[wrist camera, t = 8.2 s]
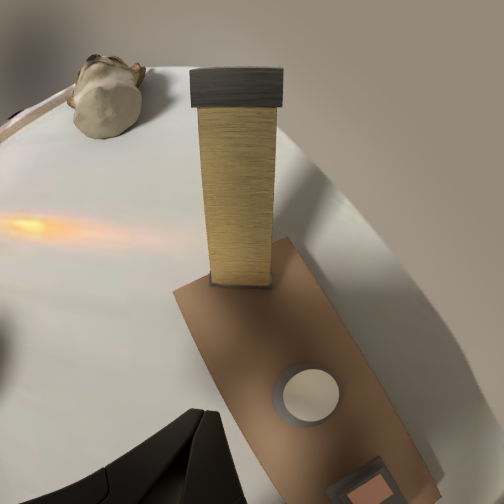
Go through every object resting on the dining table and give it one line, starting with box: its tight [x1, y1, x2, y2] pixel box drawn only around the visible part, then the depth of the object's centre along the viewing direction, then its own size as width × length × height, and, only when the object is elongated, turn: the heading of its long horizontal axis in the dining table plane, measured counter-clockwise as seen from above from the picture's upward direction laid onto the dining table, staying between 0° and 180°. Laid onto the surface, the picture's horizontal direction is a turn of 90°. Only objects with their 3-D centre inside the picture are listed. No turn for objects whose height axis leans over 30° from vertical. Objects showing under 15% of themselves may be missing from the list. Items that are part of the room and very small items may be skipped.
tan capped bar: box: [189, 67, 283, 290], centre depth 14 cm, size 2×4×12 cm, turn 85°
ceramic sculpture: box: [67, 55, 146, 139], centre depth 26 cm, size 11×9×15 cm
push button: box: [283, 369, 339, 421], centre depth 13 cm, size 3×3×1 cm
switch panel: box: [173, 237, 442, 504], centre depth 14 cm, size 8×21×2 cm, turn 28°
